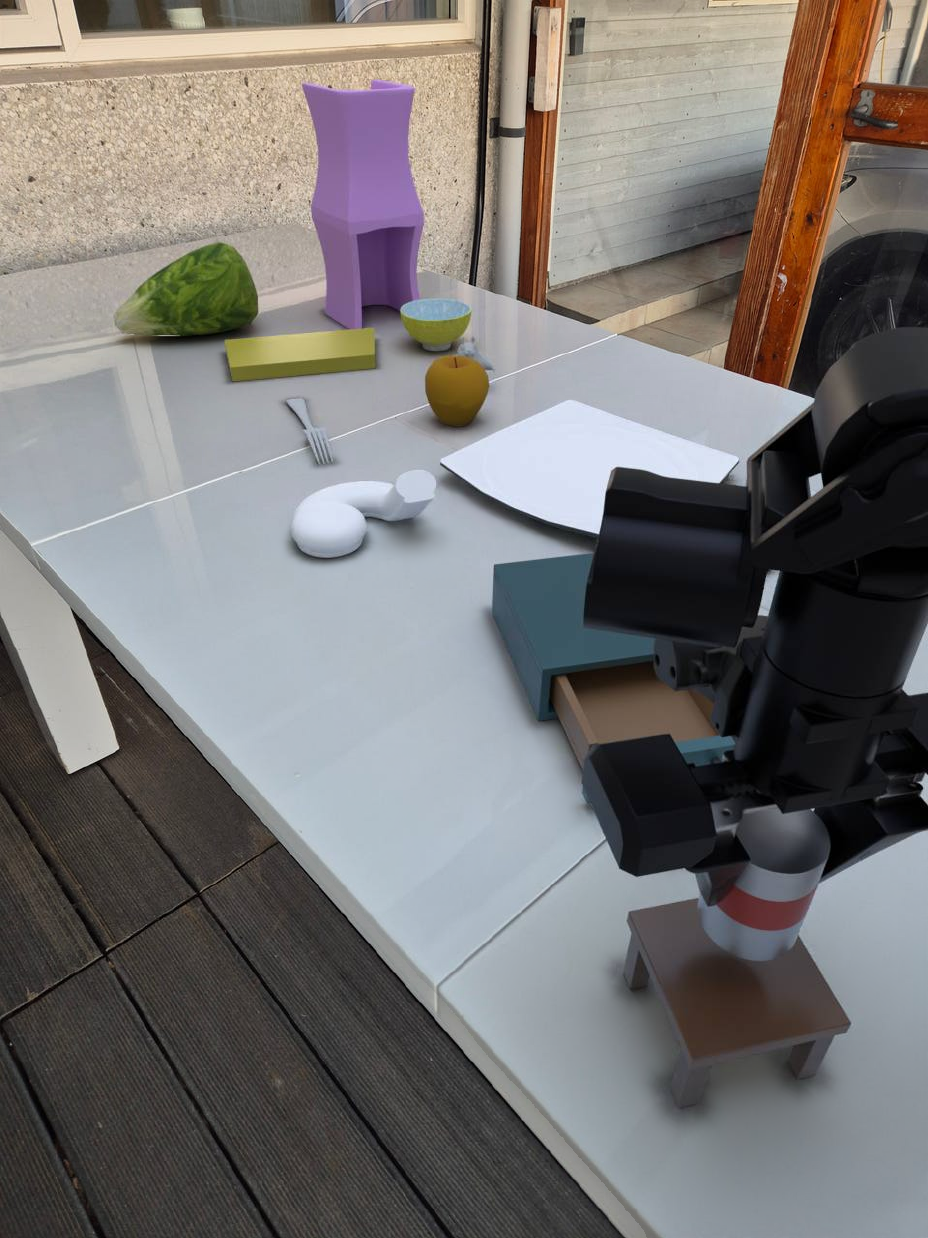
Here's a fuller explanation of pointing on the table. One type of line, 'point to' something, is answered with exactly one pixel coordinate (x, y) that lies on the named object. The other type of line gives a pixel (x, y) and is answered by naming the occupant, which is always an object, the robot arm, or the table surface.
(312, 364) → the flat olive board
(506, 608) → the cabinet
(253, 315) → the lettuce
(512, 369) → the table surface
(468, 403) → the apple
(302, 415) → the fork
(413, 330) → the bowl
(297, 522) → the sculpture
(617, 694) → the drawer
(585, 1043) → the table surface
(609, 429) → the plate
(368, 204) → the purple hollow column
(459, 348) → the figurine
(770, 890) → the can
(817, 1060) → the stool
